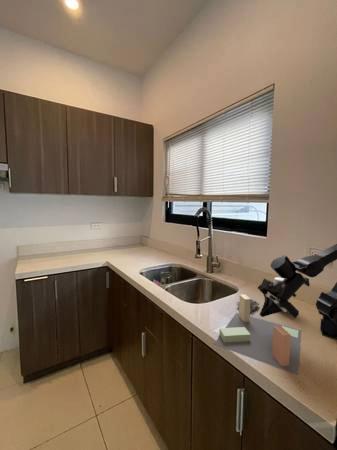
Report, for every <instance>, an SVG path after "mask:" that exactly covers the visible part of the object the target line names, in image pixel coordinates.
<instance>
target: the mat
mask: <svg viewBox="0 0 337 450" xmlns="http://www.w3.org/2000/svg"><path fill="white" fill-rule="evenodd" d="M274 326H281V327H282V328H284V329H285V330H286V331H287V332H288V333H289V334H290V335H291V340H290V356H289V366H281V365H280V364H279V363H278V362H277V360H276V359H275V358H274V357H273V356H272V348H273V329H274ZM235 327H245V328H246V329H247V331H248V332H249V333H250V334H251V338H250V341H241V342H223V340H222V338H221V336H220V335H219V336H218V337H217V339H216V340H215V342H214V343H213V345H215V346H218V347H221V348H223V349H226V350H229V351H231V352H234V353H237V354H239V355H242V356H244V357H248V358H251V359H253V360H256V361H259V362H262V363H265V364H266V365H270V366H272V367H275V368H277V369H281V370H284V371H286V372H288V373H291V374H294V375H299V369H300V368H299V366H300V365H299V364H300V363H299V362H300V354H301V353H300V351H301V342H302V329H298V328H295V327H290V326H286V325H285V324H284V325H283V324H280V323H275V322H272V321H268V320H264V319H261V318H257V317H253V316H251V315H250V321H249V322H243V320H242V319H241V318H240V317H239V312H235V314H234V315H233V316H232V318H231V320H230V321H229V322H228V323H227V325H226V326H225V328H235Z"/></svg>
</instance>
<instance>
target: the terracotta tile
mask: <svg viewBox="0 0 337 450" xmlns="http://www.w3.org/2000/svg"><path fill="white" fill-rule="evenodd" d="M290 340H291V335H290V334H289V333H288V332H287V331H286V330H285V329H284V328H282V327H281V326H274V329H273V348H272V356H273V357H274V358H275V359H276V360H277V362H278V363H279V364H280V365H281V366H289V356H290Z"/></svg>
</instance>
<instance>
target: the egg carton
mask: <svg viewBox="0 0 337 450" xmlns="http://www.w3.org/2000/svg"><path fill="white" fill-rule="evenodd" d="M236 306H237V308H238V309H239V301H237V302H236ZM259 306H260V302H257V300H254V299H252V298H250V313H252V311H255V310H256V309H259Z"/></svg>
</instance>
